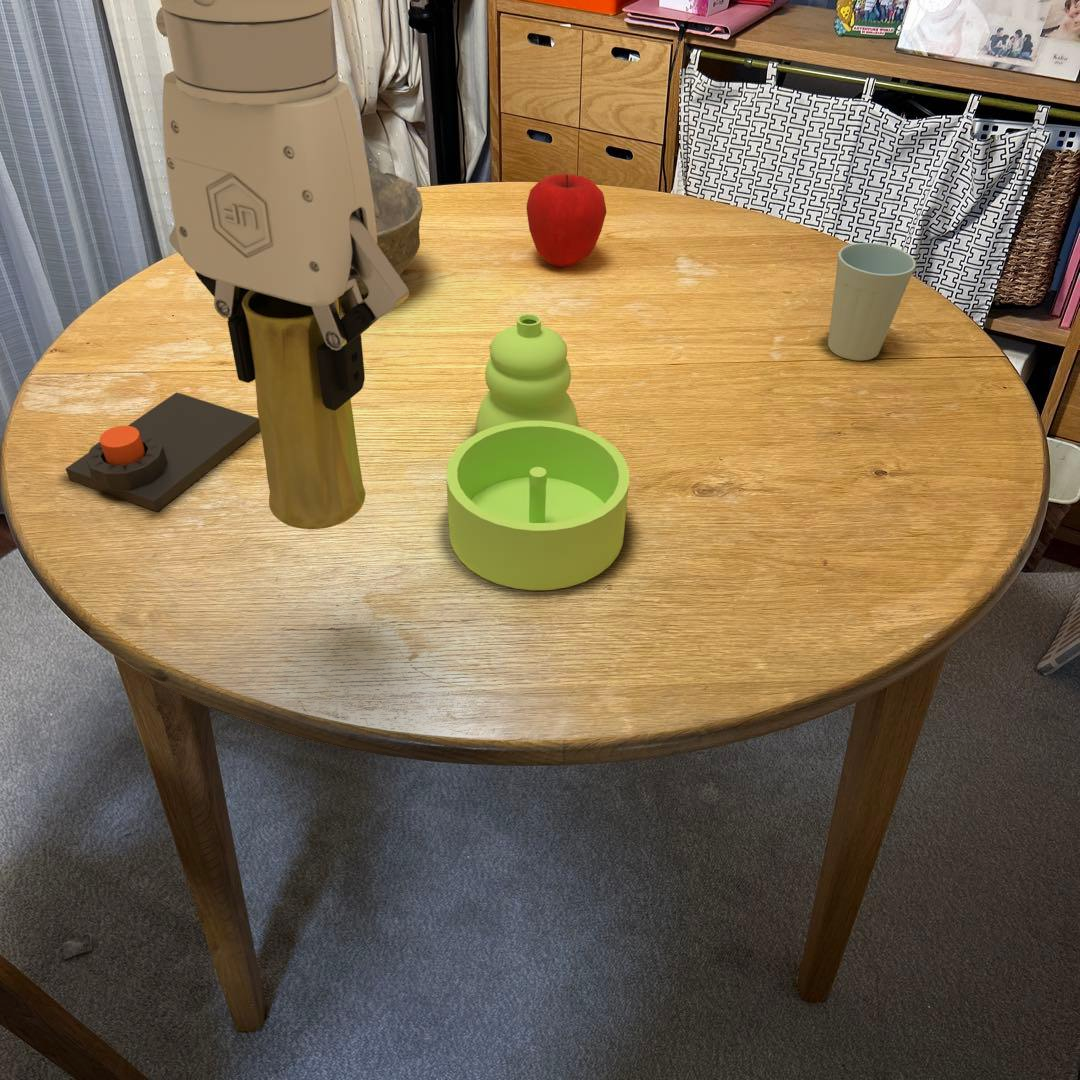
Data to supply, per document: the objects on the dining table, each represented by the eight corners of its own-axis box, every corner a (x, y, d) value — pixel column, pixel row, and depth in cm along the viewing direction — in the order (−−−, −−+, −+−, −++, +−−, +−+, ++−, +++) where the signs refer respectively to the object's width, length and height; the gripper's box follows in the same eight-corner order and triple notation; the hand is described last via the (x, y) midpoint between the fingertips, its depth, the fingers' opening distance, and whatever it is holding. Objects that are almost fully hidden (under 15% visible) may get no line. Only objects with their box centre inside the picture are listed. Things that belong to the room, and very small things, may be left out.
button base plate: (152, 515, 81) (144, 487, 79) (64, 482, 84) (53, 454, 82) (262, 429, 91) (256, 402, 89) (179, 402, 94) (172, 375, 92)
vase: (332, 462, 66) (308, 264, 56) (384, 505, 62) (367, 302, 53) (251, 497, 62) (212, 293, 53) (302, 544, 59) (269, 335, 50)
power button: (126, 470, 81) (119, 450, 80) (97, 460, 82) (90, 440, 81) (153, 451, 83) (147, 431, 82) (125, 441, 84) (118, 421, 83)
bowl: (283, 340, 104) (268, 251, 97) (230, 265, 117) (213, 183, 110) (457, 300, 111) (454, 215, 105) (388, 234, 125) (382, 156, 118)
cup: (816, 360, 103) (838, 268, 96) (817, 327, 108) (838, 238, 102) (889, 370, 102) (917, 278, 95) (886, 336, 107) (913, 247, 100)
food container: (635, 587, 75) (650, 456, 67) (449, 593, 74) (442, 461, 66) (598, 411, 94) (606, 293, 86) (449, 414, 93) (443, 295, 85)
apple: (604, 279, 116) (610, 190, 109) (525, 277, 116) (526, 188, 109) (601, 245, 124) (606, 159, 117) (526, 243, 124) (527, 157, 117)
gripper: (55, 38, 45) (143, 376, 57) (363, 99, 40) (390, 458, 51) (168, 9, 50) (228, 324, 62) (454, 59, 45) (459, 393, 57)
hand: (301, 382), depth 57 cm, fingers closed on vase, 5 cm apart
